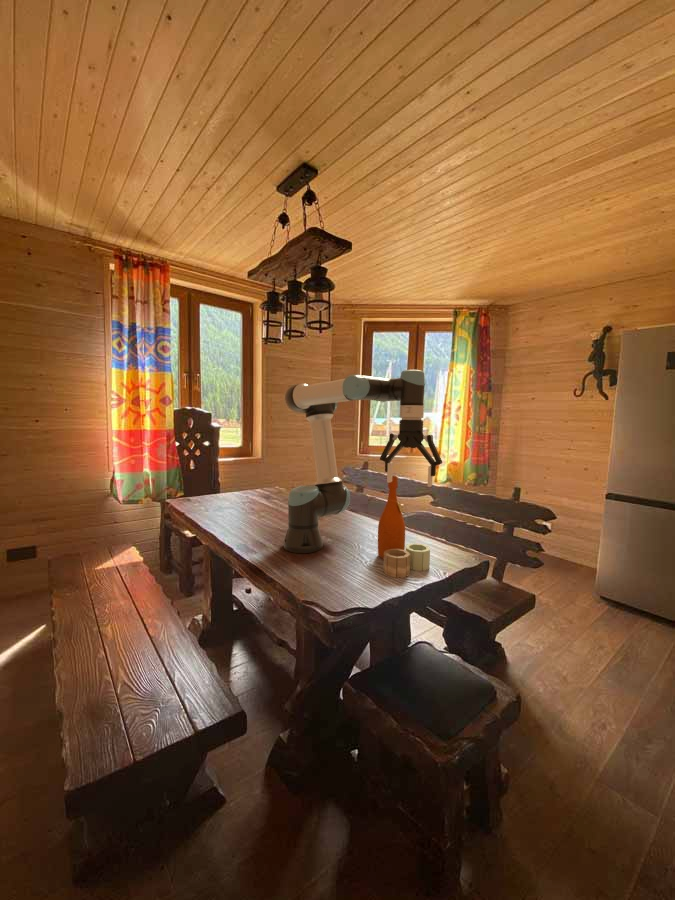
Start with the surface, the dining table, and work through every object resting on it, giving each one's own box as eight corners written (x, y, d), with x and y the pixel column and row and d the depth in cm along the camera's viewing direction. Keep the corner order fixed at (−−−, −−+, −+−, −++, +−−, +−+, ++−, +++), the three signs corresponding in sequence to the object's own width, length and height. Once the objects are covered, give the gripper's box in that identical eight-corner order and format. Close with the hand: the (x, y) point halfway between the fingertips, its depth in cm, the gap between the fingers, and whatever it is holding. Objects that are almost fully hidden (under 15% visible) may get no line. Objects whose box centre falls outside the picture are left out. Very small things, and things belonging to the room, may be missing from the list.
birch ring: (380, 573, 121) (380, 554, 120) (389, 565, 128) (390, 547, 127) (403, 579, 117) (404, 559, 116) (412, 570, 124) (412, 551, 123)
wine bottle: (389, 563, 129) (391, 478, 127) (372, 554, 138) (373, 474, 135) (410, 558, 135) (412, 476, 132) (392, 550, 143) (394, 472, 140)
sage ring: (405, 569, 125) (405, 550, 124) (405, 560, 133) (406, 542, 132) (429, 571, 123) (430, 552, 123) (428, 562, 131) (429, 544, 131)
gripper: (371, 418, 123) (369, 481, 125) (448, 419, 111) (445, 490, 113) (379, 418, 129) (378, 478, 131) (453, 419, 117) (450, 486, 119)
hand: (409, 484), depth 122 cm, fingers open, 13 cm apart
